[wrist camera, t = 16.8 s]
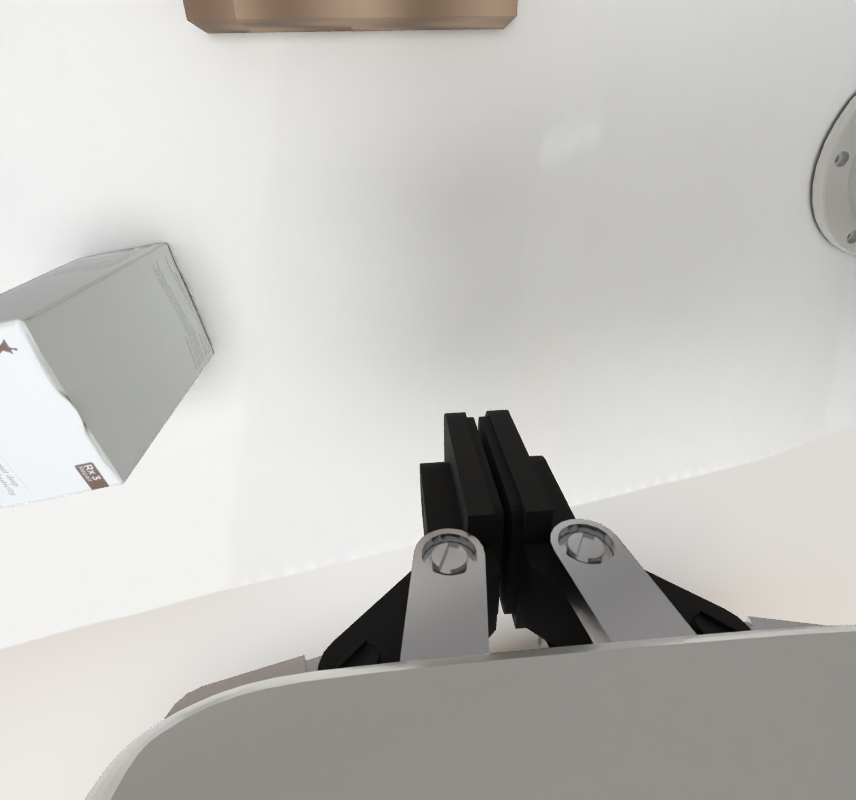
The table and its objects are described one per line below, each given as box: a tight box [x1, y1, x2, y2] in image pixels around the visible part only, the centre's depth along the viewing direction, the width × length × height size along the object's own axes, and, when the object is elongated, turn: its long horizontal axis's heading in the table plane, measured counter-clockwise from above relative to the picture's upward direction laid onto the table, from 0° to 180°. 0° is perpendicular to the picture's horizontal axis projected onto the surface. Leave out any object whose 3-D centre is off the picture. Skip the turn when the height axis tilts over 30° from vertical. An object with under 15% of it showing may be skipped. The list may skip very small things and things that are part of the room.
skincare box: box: [0, 243, 214, 508], centre depth 26 cm, size 8×6×15 cm
